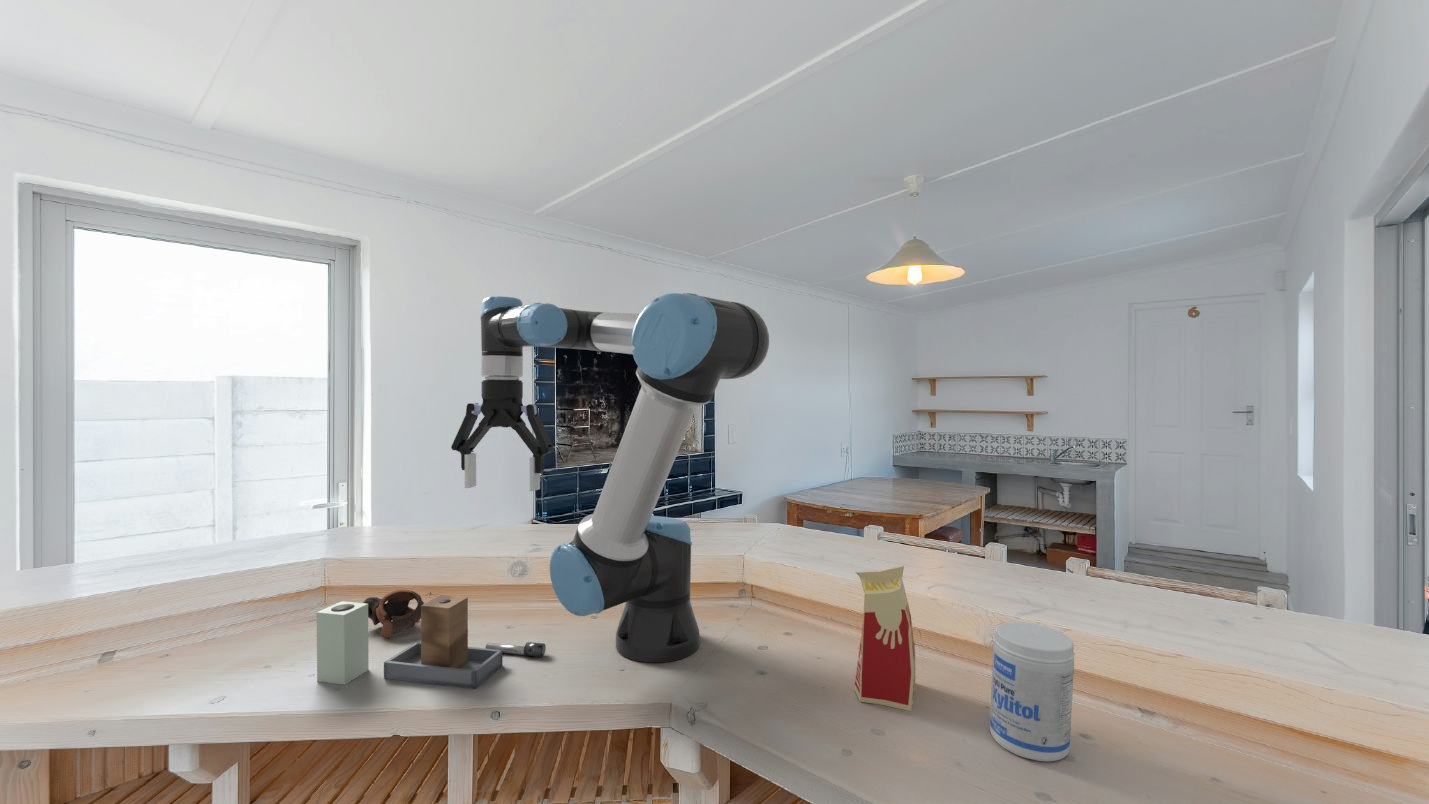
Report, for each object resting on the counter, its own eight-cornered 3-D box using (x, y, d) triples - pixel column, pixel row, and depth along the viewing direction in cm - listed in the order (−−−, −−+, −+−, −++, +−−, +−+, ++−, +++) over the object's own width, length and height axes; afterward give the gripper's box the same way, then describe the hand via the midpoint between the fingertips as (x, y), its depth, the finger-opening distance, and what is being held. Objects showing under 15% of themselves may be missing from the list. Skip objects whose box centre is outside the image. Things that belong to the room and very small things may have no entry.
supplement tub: (980, 744, 81) (983, 635, 81) (1000, 715, 88) (1003, 614, 88) (1062, 775, 75) (1066, 657, 74) (1077, 741, 82) (1081, 633, 82)
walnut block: (467, 662, 102) (467, 597, 102) (449, 676, 97) (449, 607, 97) (440, 659, 103) (440, 594, 103) (421, 673, 98) (420, 605, 98)
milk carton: (915, 683, 98) (917, 559, 97) (914, 712, 89) (916, 576, 88) (857, 673, 101) (859, 553, 100) (850, 701, 92) (852, 569, 91)
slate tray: (502, 665, 102) (502, 650, 102) (474, 688, 94) (474, 672, 94) (417, 656, 105) (417, 641, 105) (383, 678, 98) (383, 662, 97)
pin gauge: (545, 653, 107) (545, 641, 107) (539, 659, 105) (539, 646, 105) (490, 648, 109) (490, 636, 109) (483, 653, 107) (483, 641, 107)
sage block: (368, 670, 100) (368, 603, 100) (344, 684, 95) (344, 614, 95) (342, 667, 101) (341, 600, 101) (317, 681, 96) (316, 612, 96)
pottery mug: (432, 619, 123) (435, 590, 120) (410, 658, 115) (412, 628, 111) (371, 605, 122) (372, 576, 118) (344, 644, 114) (345, 613, 110)
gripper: (571, 379, 119) (570, 488, 120) (455, 378, 124) (456, 482, 124) (554, 379, 112) (553, 494, 112) (431, 377, 116) (432, 488, 117)
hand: (502, 488), depth 118 cm, fingers open, 13 cm apart
